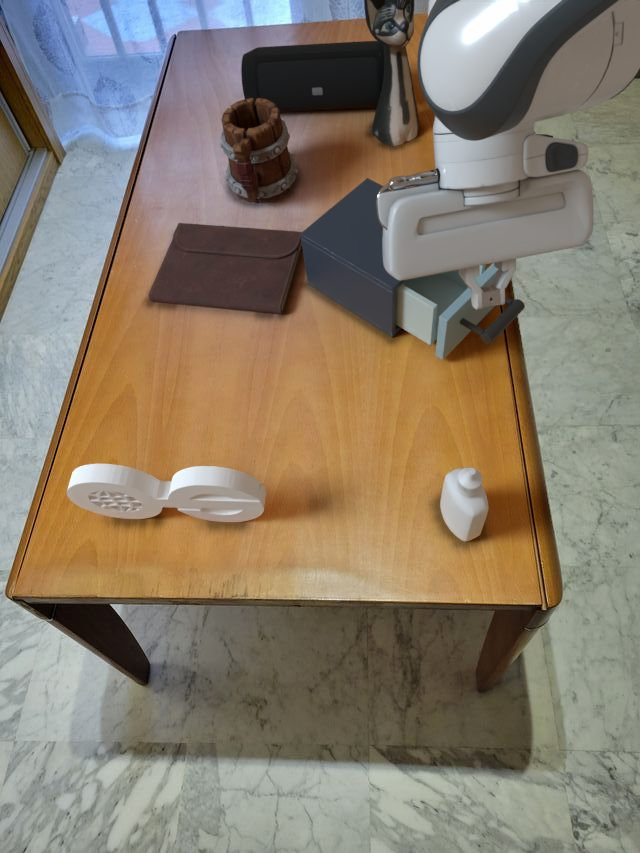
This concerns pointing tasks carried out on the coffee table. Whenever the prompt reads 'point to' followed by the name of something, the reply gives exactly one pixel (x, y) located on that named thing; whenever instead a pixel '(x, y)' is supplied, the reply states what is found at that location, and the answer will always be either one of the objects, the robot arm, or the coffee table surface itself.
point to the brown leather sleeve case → (228, 268)
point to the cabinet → (353, 258)
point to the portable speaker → (315, 75)
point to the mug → (257, 151)
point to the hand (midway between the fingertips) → (488, 305)
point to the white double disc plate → (167, 492)
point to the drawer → (448, 309)
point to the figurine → (394, 70)
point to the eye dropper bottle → (464, 503)
